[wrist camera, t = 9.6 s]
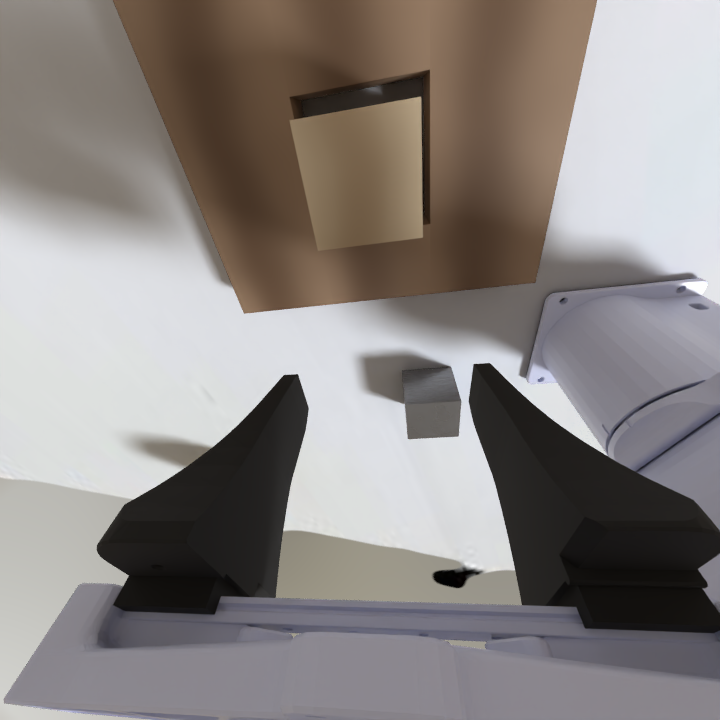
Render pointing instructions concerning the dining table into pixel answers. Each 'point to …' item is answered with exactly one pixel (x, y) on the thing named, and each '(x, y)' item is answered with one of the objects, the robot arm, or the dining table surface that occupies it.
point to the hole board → (352, 72)
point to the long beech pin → (363, 173)
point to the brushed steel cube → (431, 403)
